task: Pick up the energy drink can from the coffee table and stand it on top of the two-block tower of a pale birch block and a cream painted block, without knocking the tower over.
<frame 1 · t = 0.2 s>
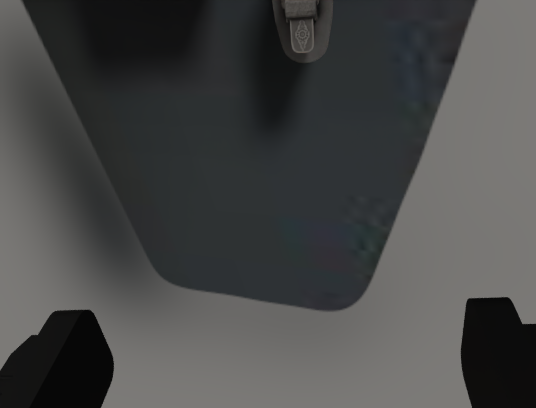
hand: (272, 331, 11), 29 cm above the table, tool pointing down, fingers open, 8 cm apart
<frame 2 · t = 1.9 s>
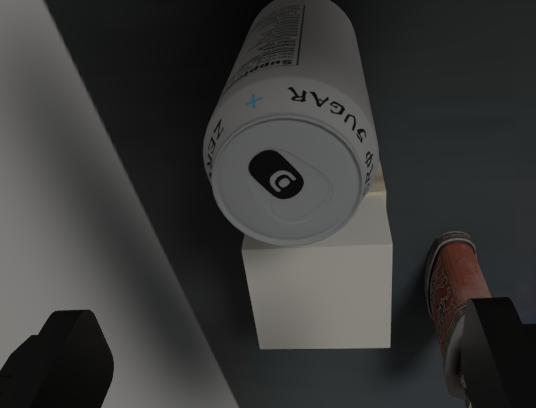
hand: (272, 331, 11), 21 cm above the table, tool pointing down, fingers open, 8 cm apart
energy drink can: (301, 45, 28), on the table
lighter: (448, 273, 37), on the table
cream block: (320, 249, 31), point 4 cm above the table
birch block: (322, 205, 34), on the table
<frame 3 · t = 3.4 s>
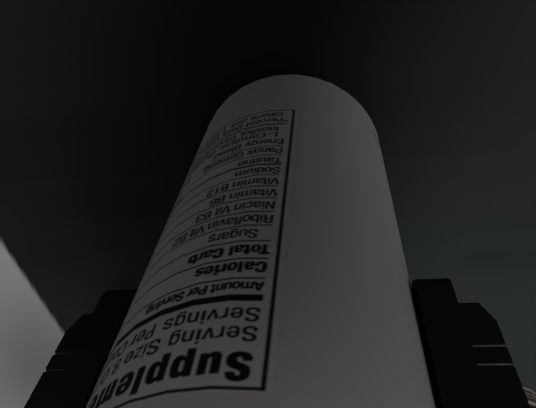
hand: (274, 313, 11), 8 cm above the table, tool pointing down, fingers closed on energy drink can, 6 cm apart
energy drink can: (292, 144, 18), on the table, touching gripper
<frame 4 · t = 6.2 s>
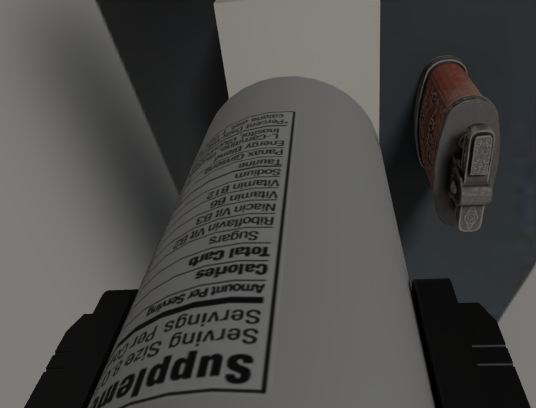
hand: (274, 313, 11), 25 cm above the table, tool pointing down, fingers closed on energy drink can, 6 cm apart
energy drink can: (292, 145, 18), point 16 cm above the table, touching gripper
lighter: (438, 112, 34), on the table
cream block: (303, 49, 28), point 4 cm above the table, touching birch block
when the fingers open (18 cm above the table, at t = 8.9 s): energy drink can drops 1 cm, resting on cream block.
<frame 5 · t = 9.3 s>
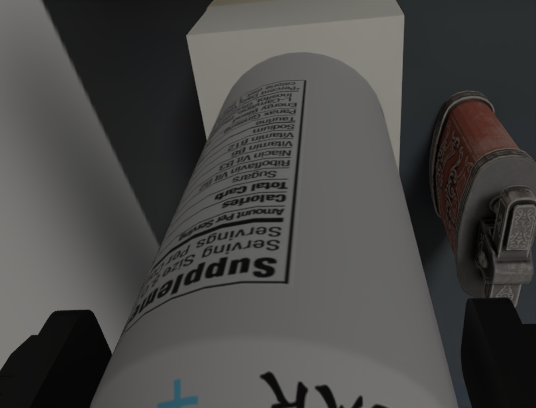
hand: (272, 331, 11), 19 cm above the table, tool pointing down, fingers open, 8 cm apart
energy drink can: (302, 121, 19), point 9 cm above the table, touching cream block
lighter: (458, 155, 29), on the table
cream block: (303, 84, 23), point 4 cm above the table, touching birch block, energy drink can
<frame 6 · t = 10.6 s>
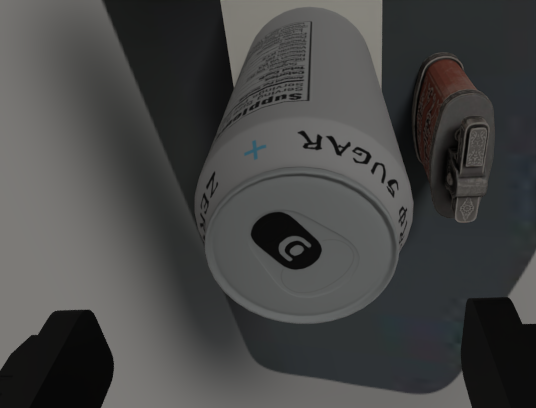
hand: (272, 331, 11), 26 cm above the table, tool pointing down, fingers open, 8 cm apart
energy drink can: (308, 64, 25), point 9 cm above the table, touching cream block
lighter: (436, 108, 35), on the table
cream block: (307, 42, 29), point 4 cm above the table, touching birch block, energy drink can
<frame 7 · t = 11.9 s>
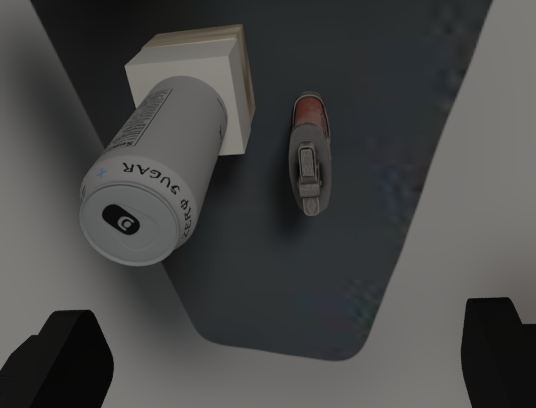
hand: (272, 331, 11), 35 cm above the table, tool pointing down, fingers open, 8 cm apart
energy drink can: (189, 111, 37), point 9 cm above the table, touching cream block
lighter: (311, 132, 47), on the table
cream block: (199, 90, 41), point 4 cm above the table, touching birch block, energy drink can
birch block: (207, 72, 44), on the table, touching cream block
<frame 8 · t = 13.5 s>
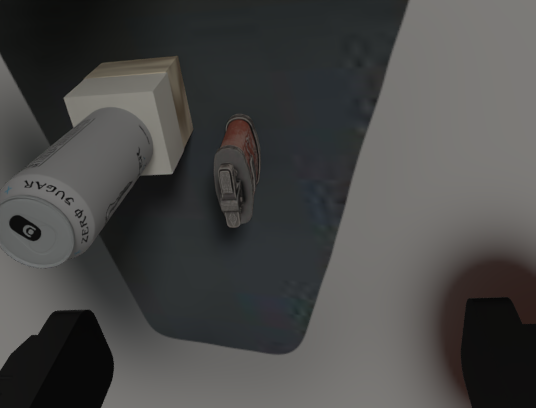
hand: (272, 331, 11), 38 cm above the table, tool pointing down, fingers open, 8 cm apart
energy drink can: (121, 137, 42), point 9 cm above the table, touching cream block
lighter: (244, 149, 52), on the table
cream block: (136, 115, 46), point 4 cm above the table, touching birch block, energy drink can
birch block: (149, 96, 49), on the table, touching cream block
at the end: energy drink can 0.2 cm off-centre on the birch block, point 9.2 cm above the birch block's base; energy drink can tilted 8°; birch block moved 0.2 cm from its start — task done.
